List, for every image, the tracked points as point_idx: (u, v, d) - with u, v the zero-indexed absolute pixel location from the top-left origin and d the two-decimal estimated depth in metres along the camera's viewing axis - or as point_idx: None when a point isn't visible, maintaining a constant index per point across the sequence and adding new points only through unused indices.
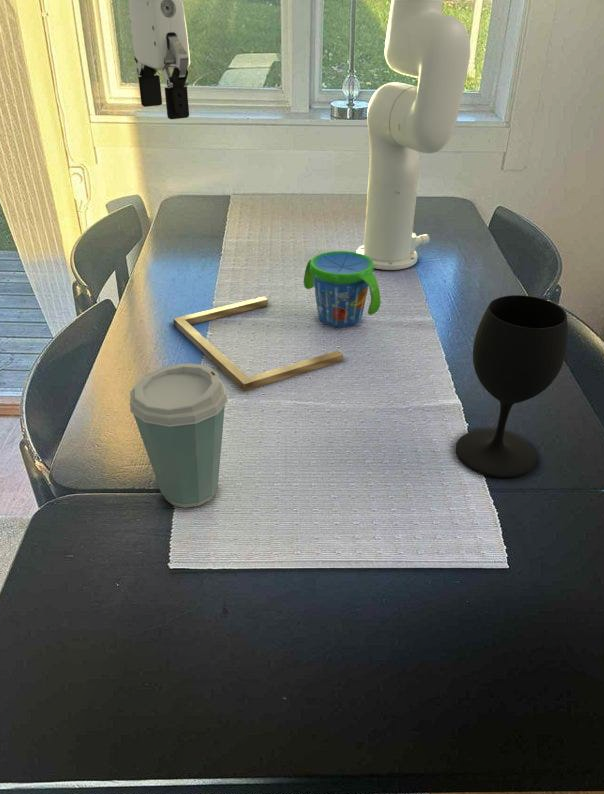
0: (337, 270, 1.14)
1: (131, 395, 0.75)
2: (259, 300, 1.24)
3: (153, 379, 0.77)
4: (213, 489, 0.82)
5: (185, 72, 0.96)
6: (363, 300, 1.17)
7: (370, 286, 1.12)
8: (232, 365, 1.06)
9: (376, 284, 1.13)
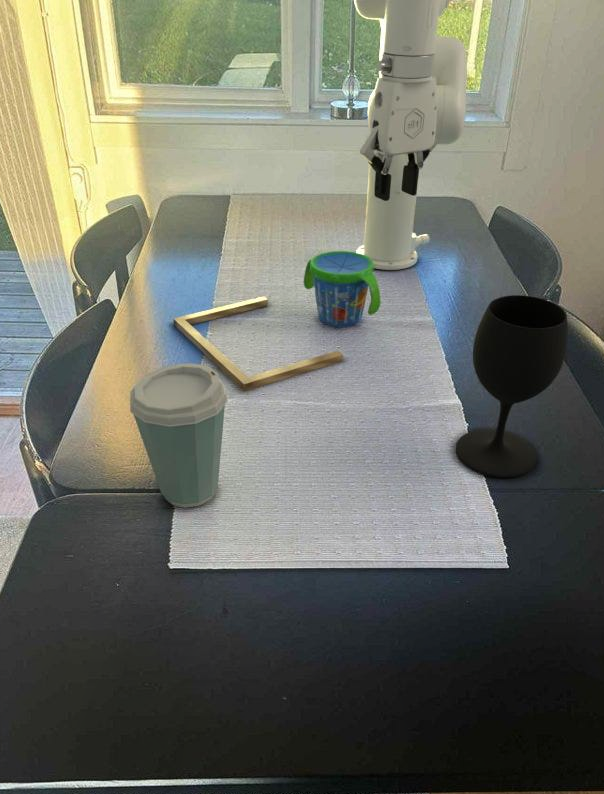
0: (337, 270, 1.14)
1: (131, 395, 0.75)
2: (259, 300, 1.24)
3: (153, 379, 0.77)
4: (213, 489, 0.82)
5: (372, 162, 1.07)
6: (363, 300, 1.17)
7: (370, 286, 1.12)
8: (232, 365, 1.06)
9: (376, 284, 1.13)
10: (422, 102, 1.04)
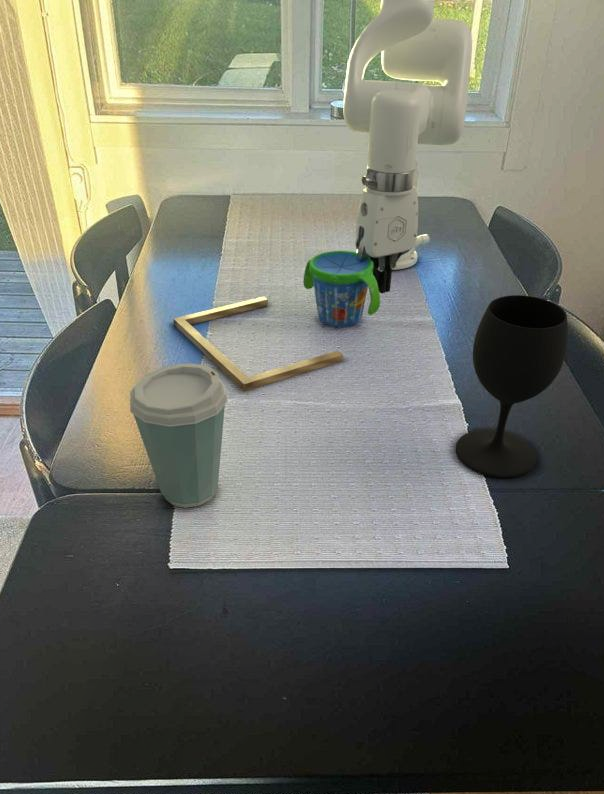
0: (336, 270, 1.14)
1: (131, 395, 0.75)
2: (259, 300, 1.24)
3: (153, 379, 0.77)
4: (213, 489, 0.82)
5: None
6: (363, 300, 1.17)
7: (370, 286, 1.12)
8: (232, 365, 1.06)
9: (376, 284, 1.12)
10: (404, 210, 1.12)
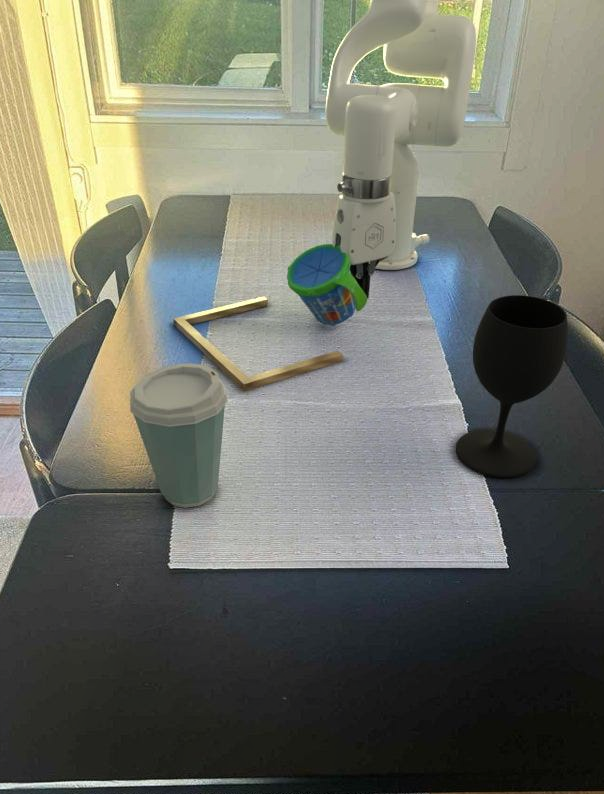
0: (314, 278, 1.12)
1: (131, 395, 0.75)
2: (259, 300, 1.24)
3: (153, 379, 0.77)
4: (213, 489, 0.82)
5: None
6: (350, 294, 1.14)
7: (349, 289, 1.09)
8: (232, 365, 1.06)
9: (355, 283, 1.09)
10: (381, 217, 1.11)
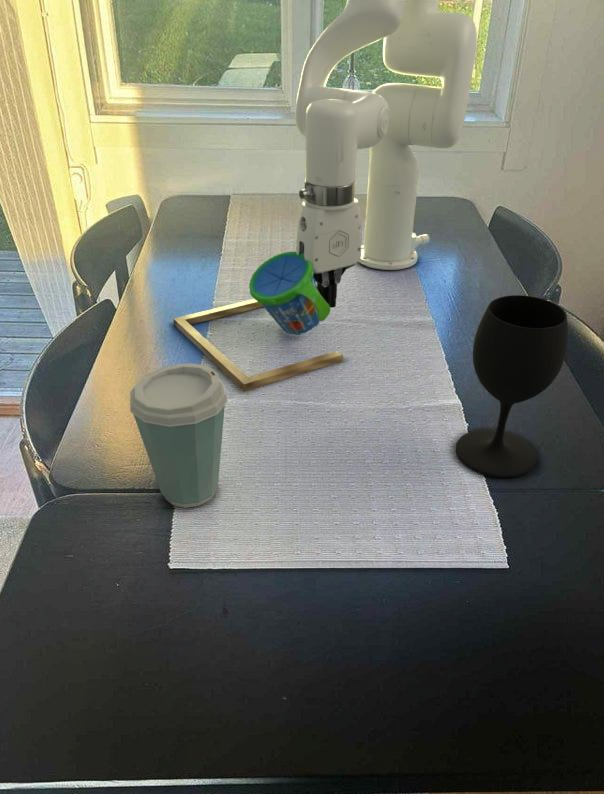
0: (275, 287, 1.09)
1: (131, 395, 0.75)
2: None
3: (153, 379, 0.77)
4: (213, 489, 0.82)
5: None
6: None
7: (310, 298, 1.06)
8: (232, 365, 1.06)
9: (316, 292, 1.06)
10: (346, 224, 1.08)
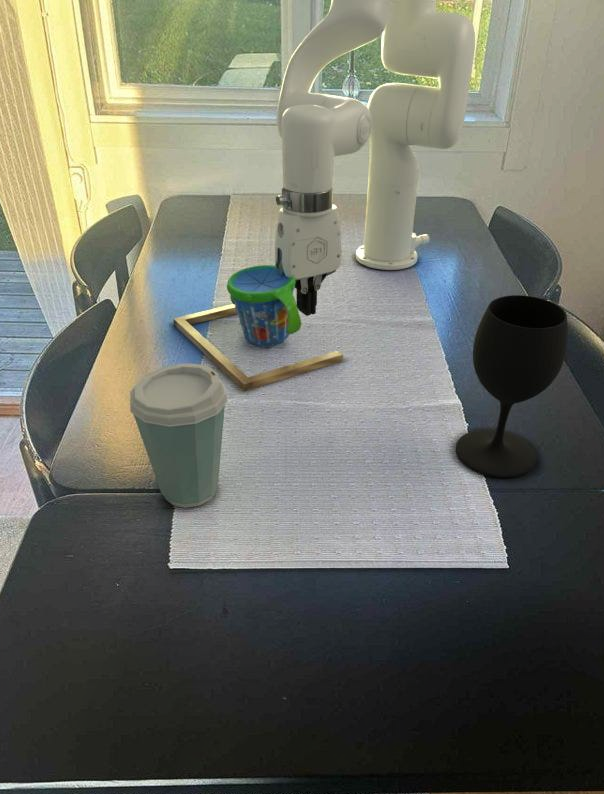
0: (254, 288, 1.07)
1: (131, 395, 0.75)
2: None
3: (153, 379, 0.77)
4: (213, 489, 0.82)
5: None
6: (286, 318, 1.10)
7: (286, 305, 1.05)
8: (232, 365, 1.06)
9: (293, 302, 1.05)
10: (324, 231, 1.06)
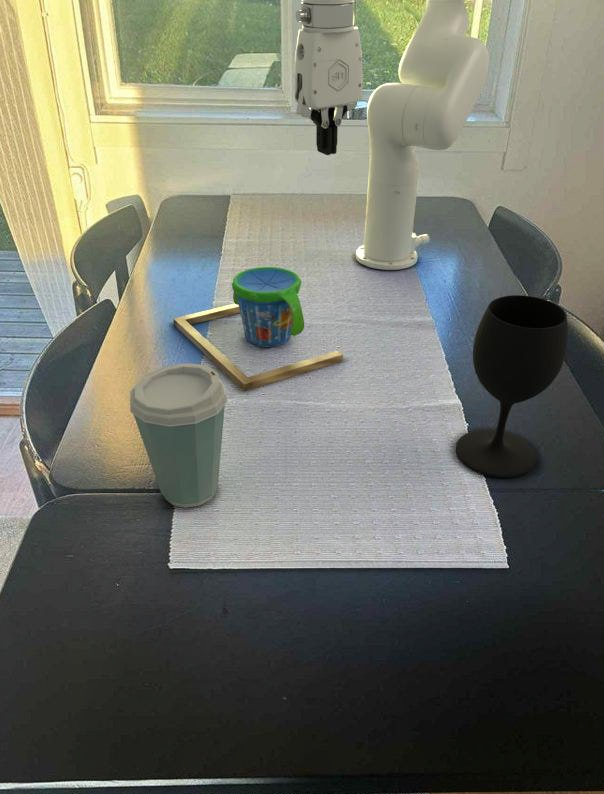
0: (259, 288, 1.08)
1: (131, 395, 0.75)
2: None
3: (153, 379, 0.77)
4: (213, 489, 0.82)
5: (312, 117, 1.08)
6: (288, 320, 1.10)
7: (291, 306, 1.05)
8: (232, 365, 1.06)
9: (298, 304, 1.06)
10: (345, 53, 1.02)
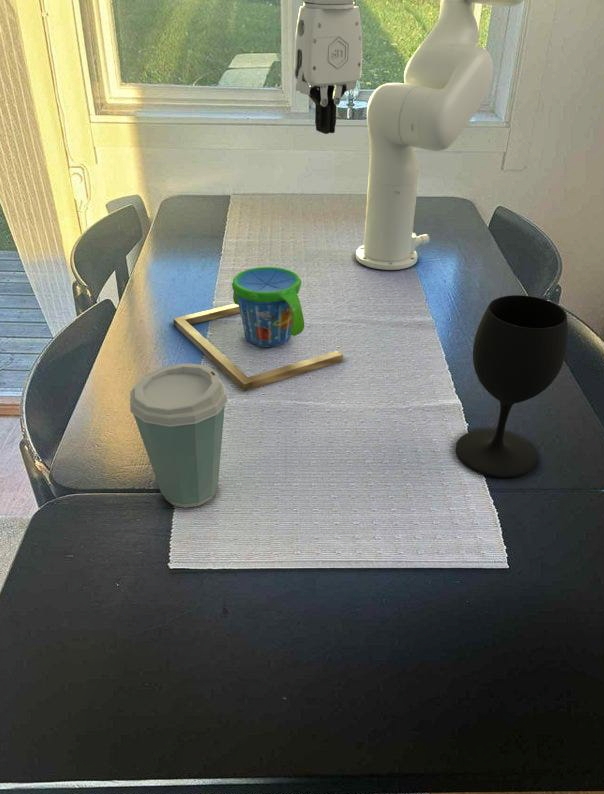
0: (259, 287, 1.08)
1: (131, 395, 0.75)
2: None
3: (153, 379, 0.77)
4: (213, 489, 0.82)
5: (311, 94, 1.09)
6: (288, 320, 1.10)
7: (291, 306, 1.05)
8: (232, 365, 1.06)
9: (298, 304, 1.06)
10: (345, 31, 1.04)
